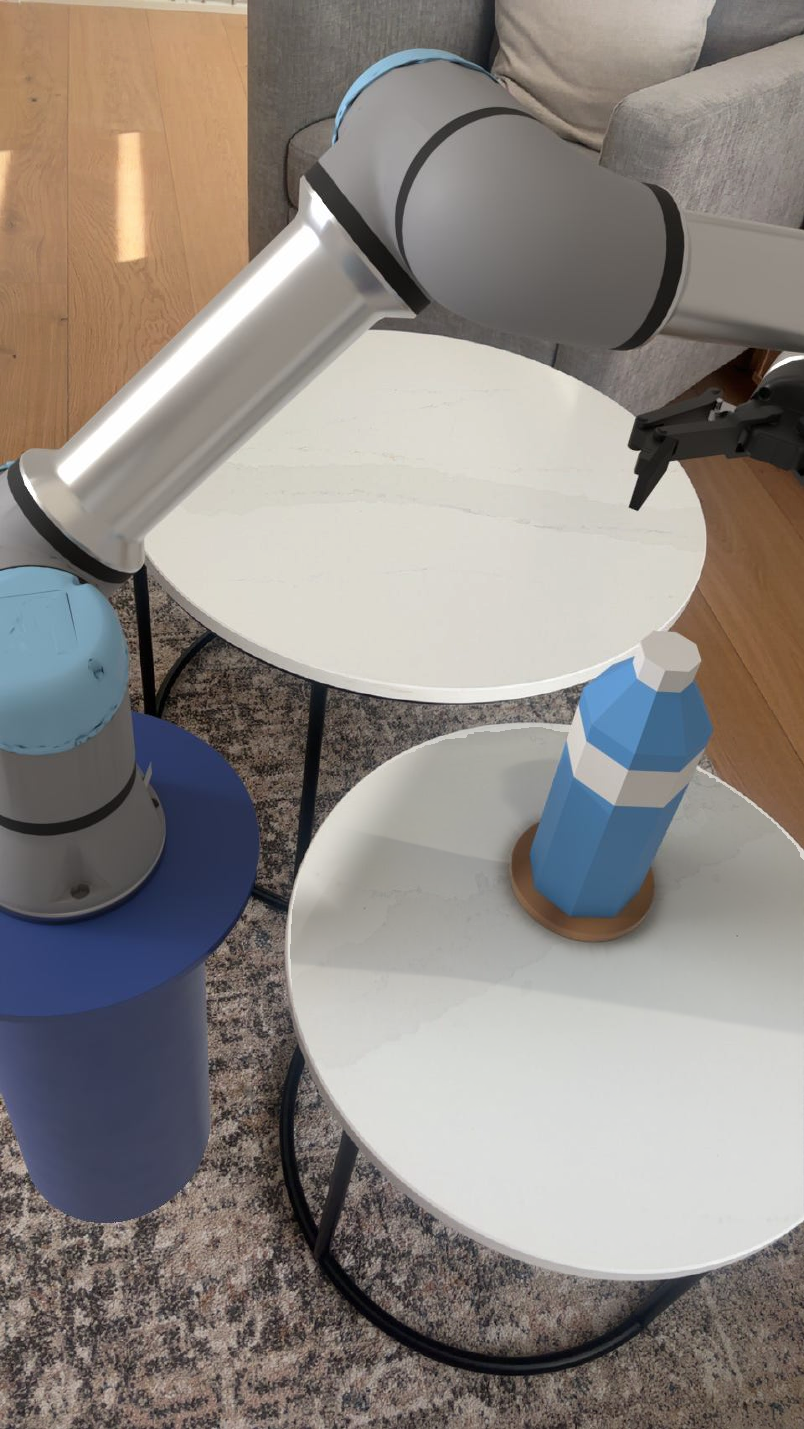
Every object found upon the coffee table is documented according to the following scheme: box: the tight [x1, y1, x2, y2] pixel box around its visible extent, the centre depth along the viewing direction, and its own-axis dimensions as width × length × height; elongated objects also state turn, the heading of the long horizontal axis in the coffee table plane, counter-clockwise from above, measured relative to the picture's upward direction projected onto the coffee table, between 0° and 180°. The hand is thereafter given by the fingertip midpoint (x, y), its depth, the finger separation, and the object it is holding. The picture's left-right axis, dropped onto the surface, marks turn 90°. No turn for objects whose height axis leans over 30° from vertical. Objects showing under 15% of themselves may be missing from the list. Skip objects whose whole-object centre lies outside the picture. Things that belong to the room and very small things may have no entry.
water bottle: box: [530, 630, 715, 918], centre depth 81 cm, size 9×9×25 cm
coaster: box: [508, 821, 656, 943], centre depth 90 cm, size 12×12×1 cm
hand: (729, 529), depth 75 cm, fingers open, 13 cm apart
